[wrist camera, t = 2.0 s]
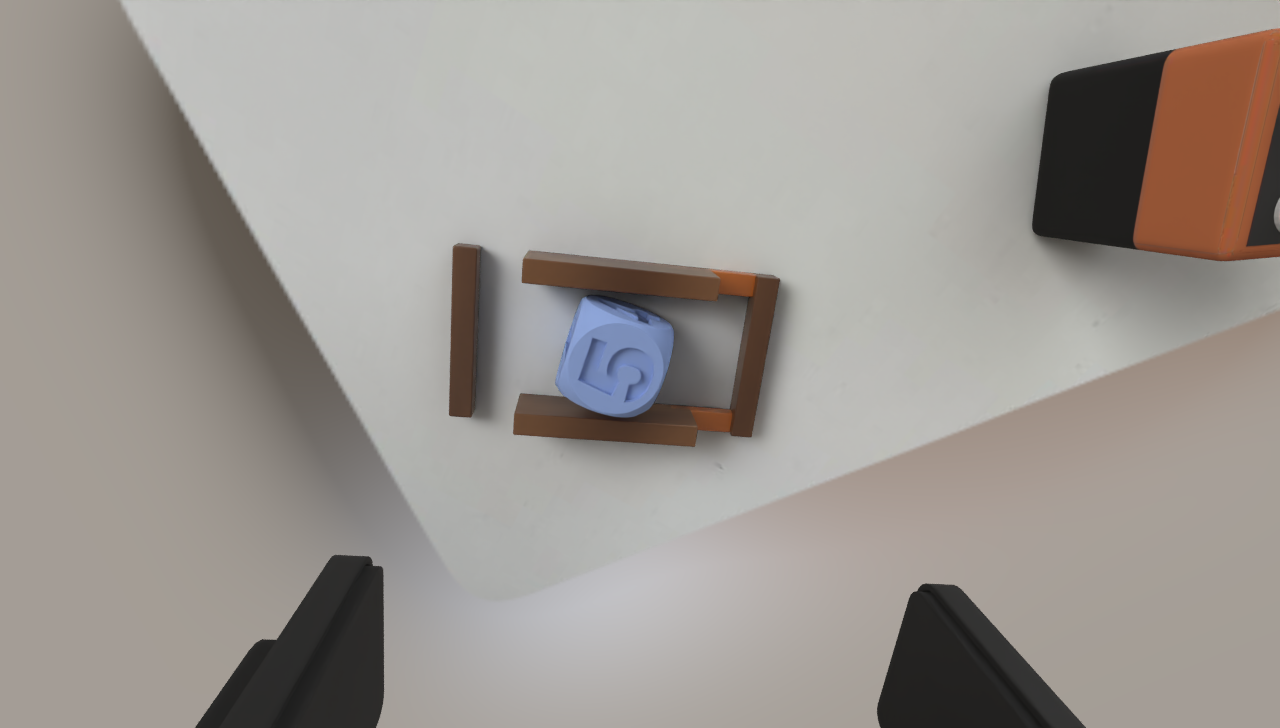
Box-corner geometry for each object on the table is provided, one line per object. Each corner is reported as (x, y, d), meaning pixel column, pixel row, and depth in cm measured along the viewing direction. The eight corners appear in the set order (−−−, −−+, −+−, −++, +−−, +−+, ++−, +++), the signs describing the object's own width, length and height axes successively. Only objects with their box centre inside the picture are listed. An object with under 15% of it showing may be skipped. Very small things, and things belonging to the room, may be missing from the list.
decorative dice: (583, 287, 27) (583, 306, 23) (667, 315, 28) (680, 338, 24) (556, 369, 28) (552, 400, 24) (638, 394, 29) (646, 427, 25)
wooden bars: (453, 408, 28) (441, 430, 26) (457, 243, 26) (444, 250, 24) (746, 429, 30) (760, 451, 27) (773, 275, 28) (791, 285, 25)
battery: (1141, 68, 26) (1458, 9, 17) (1114, 228, 28) (1382, 257, 19) (1045, 74, 26) (1311, 18, 16) (1025, 235, 28) (1251, 268, 18)
